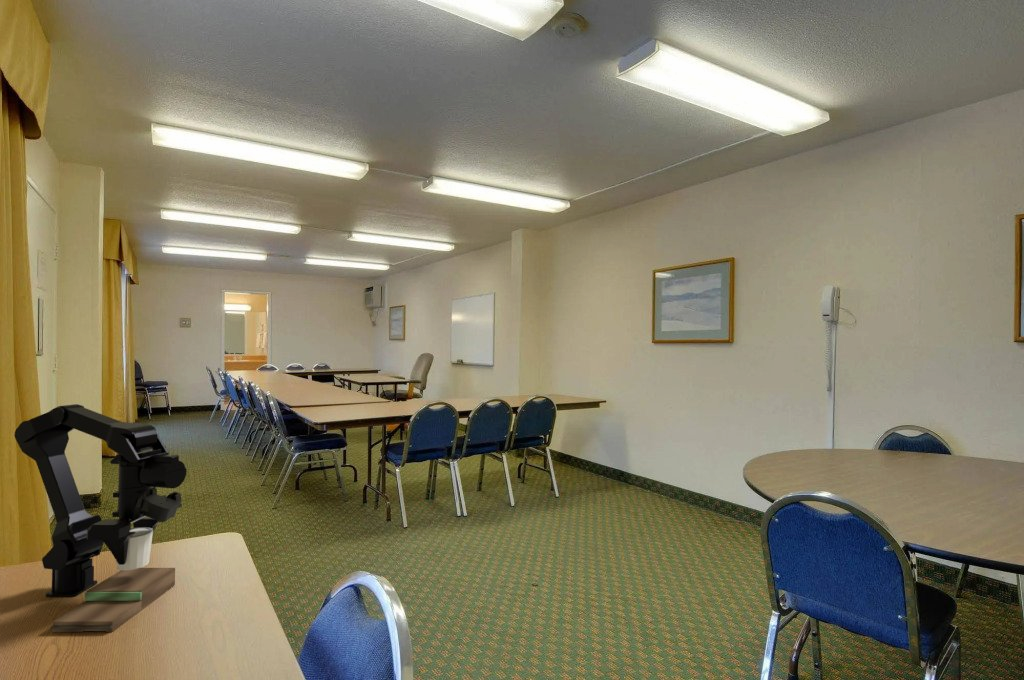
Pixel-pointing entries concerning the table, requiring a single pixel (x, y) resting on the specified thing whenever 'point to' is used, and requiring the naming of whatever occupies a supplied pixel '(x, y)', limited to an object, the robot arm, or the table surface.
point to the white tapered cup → (138, 549)
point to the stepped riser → (116, 600)
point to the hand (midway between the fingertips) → (133, 557)
